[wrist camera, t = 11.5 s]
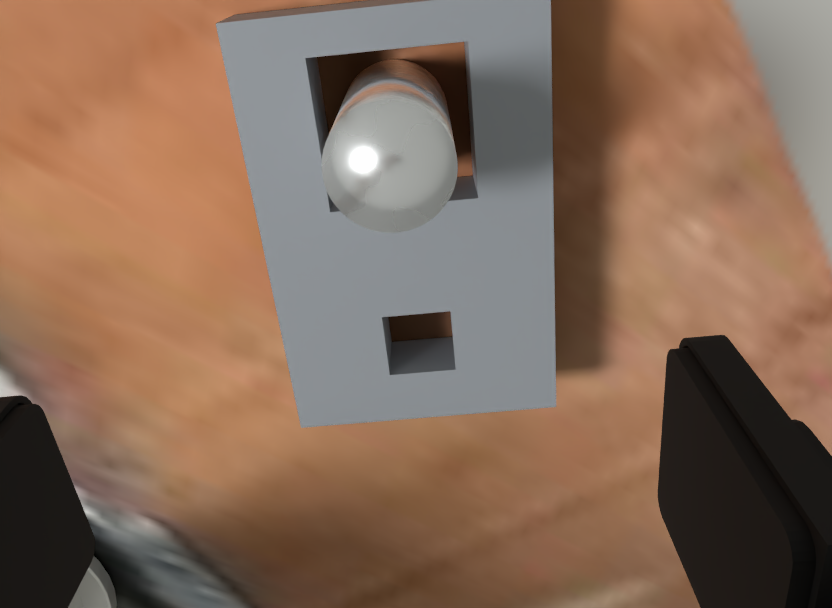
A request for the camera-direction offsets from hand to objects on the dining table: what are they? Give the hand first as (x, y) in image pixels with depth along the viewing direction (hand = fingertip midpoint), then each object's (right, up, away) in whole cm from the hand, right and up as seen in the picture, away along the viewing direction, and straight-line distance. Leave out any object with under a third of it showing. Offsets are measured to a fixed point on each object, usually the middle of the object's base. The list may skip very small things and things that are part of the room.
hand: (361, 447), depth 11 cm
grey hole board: (+1, +6, +22) cm, 23 cm away
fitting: (0, +10, +20) cm, 22 cm away
